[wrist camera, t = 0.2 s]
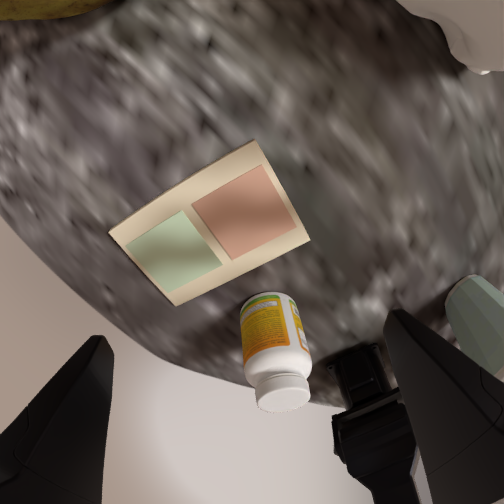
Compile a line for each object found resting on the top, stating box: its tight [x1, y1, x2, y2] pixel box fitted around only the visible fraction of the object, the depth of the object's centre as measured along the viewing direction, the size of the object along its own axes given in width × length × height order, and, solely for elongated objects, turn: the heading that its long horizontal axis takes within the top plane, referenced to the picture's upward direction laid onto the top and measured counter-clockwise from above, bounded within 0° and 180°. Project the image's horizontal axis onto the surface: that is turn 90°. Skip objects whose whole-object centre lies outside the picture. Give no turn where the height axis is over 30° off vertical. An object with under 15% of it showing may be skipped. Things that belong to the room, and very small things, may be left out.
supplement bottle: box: [240, 292, 312, 413], centre depth 24 cm, size 5×5×10 cm
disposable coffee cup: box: [445, 274, 504, 383], centre depth 24 cm, size 11×11×15 cm
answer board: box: [108, 139, 310, 306], centre depth 23 cm, size 9×13×1 cm
